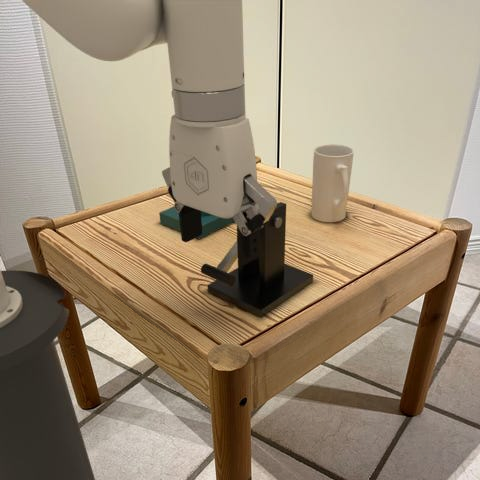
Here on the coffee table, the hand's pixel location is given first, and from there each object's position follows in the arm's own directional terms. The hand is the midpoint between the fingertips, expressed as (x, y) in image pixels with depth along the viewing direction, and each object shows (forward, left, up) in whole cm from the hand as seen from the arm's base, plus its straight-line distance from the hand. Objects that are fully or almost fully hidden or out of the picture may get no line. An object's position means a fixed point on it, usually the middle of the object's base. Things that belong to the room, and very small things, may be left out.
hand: (219, 249), depth 64 cm
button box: (+19, +23, -10) cm, 32 cm away
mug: (+34, +5, -10) cm, 36 cm away
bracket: (+8, 0, -10) cm, 13 cm away
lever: (+5, 0, -2) cm, 5 cm away
